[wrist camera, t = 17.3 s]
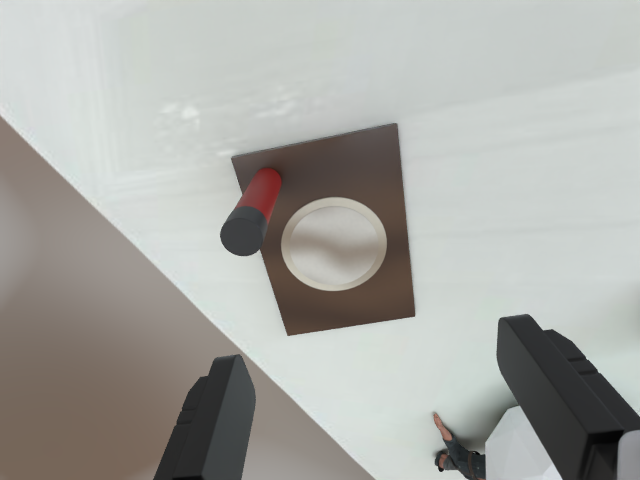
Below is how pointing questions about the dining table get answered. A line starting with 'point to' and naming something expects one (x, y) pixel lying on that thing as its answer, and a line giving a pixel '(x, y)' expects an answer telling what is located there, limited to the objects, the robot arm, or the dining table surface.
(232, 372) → the robot arm
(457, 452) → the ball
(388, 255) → the brown flat rectangular board
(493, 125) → the dining table surface
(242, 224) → the marker
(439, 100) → the dining table surface
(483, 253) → the dining table surface
